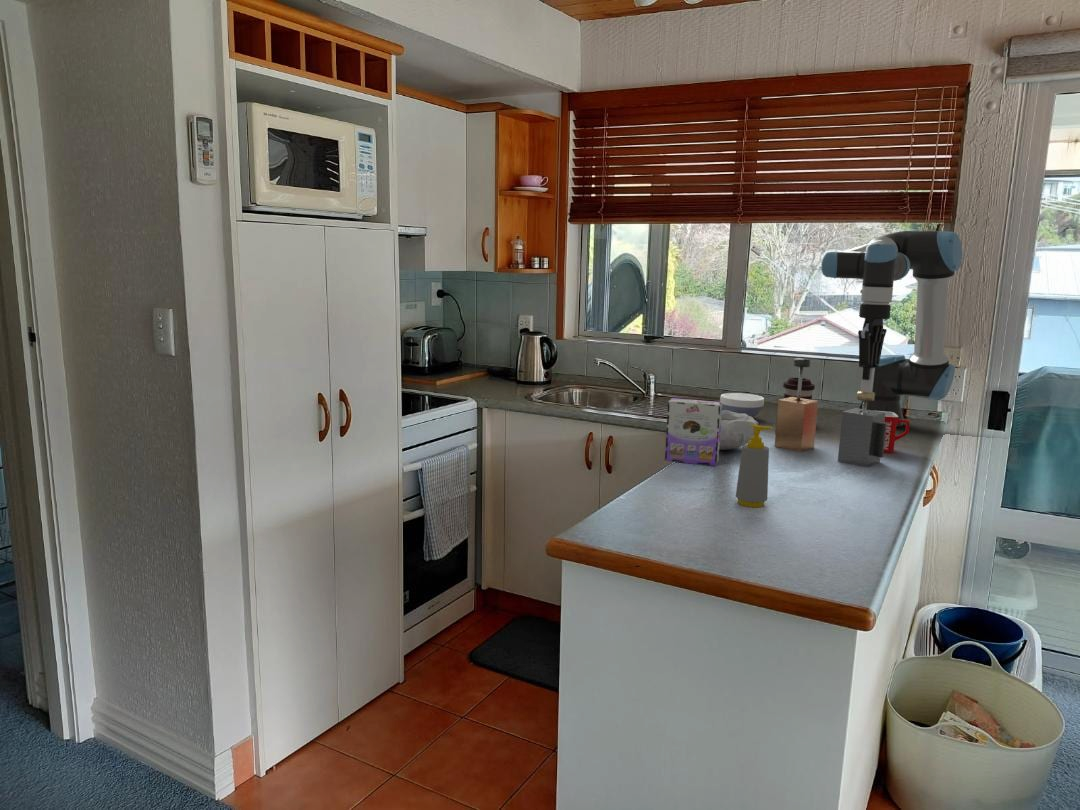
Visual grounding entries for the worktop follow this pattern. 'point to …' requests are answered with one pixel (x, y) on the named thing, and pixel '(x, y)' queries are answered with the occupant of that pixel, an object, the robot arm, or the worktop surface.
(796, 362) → the grey t-shaped piece
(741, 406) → the bowl
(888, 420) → the mug
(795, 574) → the worktop surface
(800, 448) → the tall wooden block
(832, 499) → the worktop surface
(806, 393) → the coffee cup
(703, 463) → the candy box
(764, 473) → the soap bottle
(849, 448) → the grey block
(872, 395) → the beige t-shaped piece
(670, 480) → the worktop surface
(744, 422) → the white crumpled bag
